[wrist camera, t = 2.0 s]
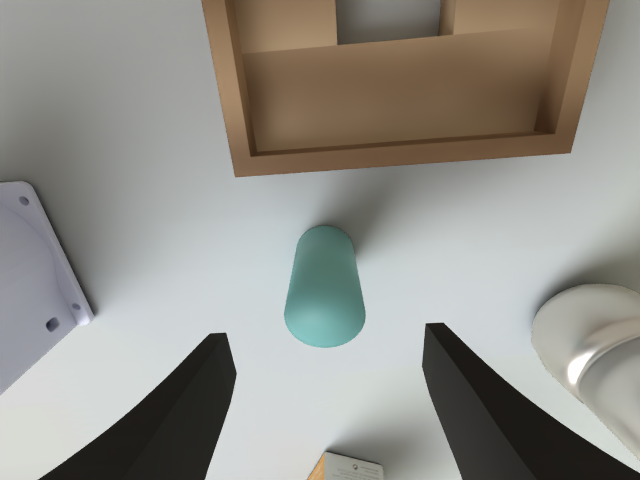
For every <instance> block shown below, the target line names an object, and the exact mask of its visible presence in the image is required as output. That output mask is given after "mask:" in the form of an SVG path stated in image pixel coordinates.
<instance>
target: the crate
mask: <svg viewBox="0 0 640 480" xmlns="http://www.w3.org/2000/svg"><path fill="white" fill-rule="evenodd" d="M201 1H202V6H203V11H204V16H205V22H206V27H207V32H208V37H209V43H210V48H211V53H212V58H213V64H214V69H215V74H216V79H217V84H218V90H219V95H220V100H221V105H222V111H223V116H224V121H225V126H226V132H227V137H228V142H229V147H230V153H231V158H232V163H233V168H234V173H235V177H246V176H260V175H273V174H287V173H301V172H315V171H329V170H343V169H357V168H370V167H384V166H398V165H412V164H426V163H440V162H454V161H467V160H481V159H495V158H509V157H523V156H537V155H551V154H565V153H571V149H572V145H573V141H574V138H575V134H576V130H577V126H578V122H579V118H580V114H581V110H582V106H583V103H584V99H585V95H586V91H587V87H588V83H589V79H590V75H591V72H592V68H593V64H594V60H595V56H596V52H597V48H598V44H599V40H600V37H601V33H602V29H603V25H604V21H605V17H606V13H607V9H608V6H609V2H610V0H441V10H440V24H439V36H434V37H423V38H412V39H400V40H389V41H378V42H367V43H356V44H345V45H337V27H336V5H335V0H201Z"/></svg>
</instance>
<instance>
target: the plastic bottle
mask: <svg viewBox="0 0 640 480" xmlns="http://www.w3.org/2000/svg"><path fill="white" fill-rule="evenodd" d="M531 340H532V344H533V347H534V349H535V351H536V353H537V355H538V356H539V358H540V360H541V362H542V364H543V365H544V367H545V369H546V370H547V371H548V372H549V373H550V374H551V375H552V376H553V377H554V378H555V379H556V380H557V381H558V382H559V383H560V384H561V385H562V386H563V387H564V388H565V389H566V390H568V391H569V392H570V393H571V394H572V395H573V396H575V397H576V398H577V399H578V400H579V401H581V402H582V403H583V404H585V405H586V406H587V407H588V408H589V409H590V410H591V411H592V412H593V413H594V414H595V415H596V416H597V417H598V418H599V420H600V421H601V422H602V423H603V424H604V425H605V426H606V427H607V428H608V429H609V430H610V431H611V432H612V433H613V434H614V435H615V436H616V437H617V438H618V439H619V440H620V441H621V442H622V443H623V444H624V445H625V446H626V447H627V449H628V450H629V451H630V452H631V453H632V454H633V455H634V456H635V457H636V458H637V459H638V460H639V461H640V294H639V293H637V292H635V291H633V290H630V289H628V288H625V287H622V286H619V285H612V284H584V285H579V286H575V287H572V288H569V289H566V290H564V291H562V292H560V293H558V294H557V295H555V296H554V297H552V298H551V299H549V300H548V301H547V302H546V303H545V304H544V305H543V306H542V307H541V308H540V310H539V311H538V312H537V314H536V316H535V318H534V321H533V324H532V338H531Z"/></svg>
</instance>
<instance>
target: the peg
mask: <svg viewBox="0 0 640 480" xmlns="http://www.w3.org/2000/svg"><path fill="white" fill-rule="evenodd" d="M365 316H366V314H365V307H364V302H363V297H362V291H361V286H360V281H359V276H358V270H357V265H356V260H355V255H354V249H353V245H352V242H351V240H350V238H349V237H348V236H347V234H345V233H344V232H343V231H342V230H340V229H338V228H336V227H332V226H317V227H314V228H312V229H310V230H308V231H307V232H305V233H304V234H303V235H302V237H301V238H300V240H299V242H298V244H297V248H296V254H295V259H294V264H293V269H292V274H291V280H290V285H289V290H288V295H287V300H286V306H285V312H284V318H285V323H286V325H287V328H288V329H289V331H290V332H291V333H292V335H293V336H295V337H296V338H297V339H298V340H300V341H301V342H303V343H305V344H308V345H311V346H314V347H321V348H329V347H336V346H340V345H343V344H345V343H347V342H349V341H350V340H352V339H353V338H355V337H356V336H357V335H358V333H359V332H360V331H361V329H362V328H363V325H364V322H365Z"/></svg>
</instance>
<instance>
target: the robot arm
mask: <svg viewBox="0 0 640 480" xmlns="http://www.w3.org/2000/svg"><path fill="white" fill-rule="evenodd" d="M25 197H26V198H27V199H28V200H29V202H28V201H27V200H26V198H25ZM79 305H80V306H79ZM93 320H94V315H93V313H92V311H91V309H90V307H89V305H88V303H87V300H86V298H85V296H84V294H83V292H82V290H81V288H80V286H79V283H78V281H77V279H76V277H75V275H74V273H73V271H72V269H71V267H70V264H69V262H68V260H67V258H66V256H65V254H64V252H63V250H62V248H61V245H60V243H59V241H58V239H57V237H56V235H55V233H54V231H53V229H52V226H51V224H50V222H49V220H48V218H47V216H46V214H45V212H44V210H43V207H42V205H41V203H40V201H39V199H38V197H37V195H36V193H35V191H34V189H33V187H32V186H31V185H30V184H29V183H27V182H24V181H16V182H3V183H0V395H1V394H2V393H3V392H4V391H5V390H6V389H8V388H9V387H10V386H11V385H12V384H13V383H14V382H15V381H16V380H17V379H19V378H20V377H21V376H22V375H23V374H24V373H25V372H26V371H27V370H28V369H30V368H31V367H32V366H33V365H34V364H35V363H36V362H37V361H38V360H39V359H41V358H42V357H43V356H44V355H45V354H46V353H47V352H48V351H49V350H50V349H52V348H53V347H54V346H55V345H56V344H57V343H58V342H59V341H60V340H61V339H63V338H64V337H65V336H66V335H67V334H68V333H69V332H70V331H71V330H72V329H74V328H75V327H76V326H77V325H88V324H90V323H91V322H92V321H93ZM422 368H423V372H424V375H425V379H426V383H427V387H428V390H429V394H430V397H431V399H432V402H433V405H434V407H435V410H436V412H437V415H438V417H439V420H440V422H441V425H442V427H443V430H444V432H445V435H446V437H447V440H448V443H449V445H450V448H451V450H452V453H453V455H454V458H455V460H456V463H457V465H458V468H459V471H460V474H461V477H462V479H463V480H640V473H638V472H637V471H635V470H633V469H632V468H630V467H628V466H627V465H625V464H623V463H622V462H620V461H618V460H617V459H615V458H613V457H612V456H610V455H609V454H607V453H605V452H604V451H602V450H601V449H599V448H598V447H596V446H595V445H593V444H591V443H590V442H588V441H587V440H585V439H584V438H582V437H581V436H579V435H578V434H576V433H575V432H573V431H572V430H570V429H569V428H567V427H566V426H564V425H563V424H561V423H560V422H559V421H557V420H556V419H554V418H553V417H552V416H550V415H549V414H548V413H546V412H545V411H544V410H542V409H541V408H539V407H538V406H537V405H535V404H534V403H533V402H531V401H530V400H529V399H528V398H526V397H525V396H524V395H522V394H521V393H520V392H519V391H517V390H516V389H515V388H514V387H513V386H511V385H510V384H509V383H508V382H507V381H505V380H504V379H503V378H502V377H501V376H500V375H498V374H497V373H496V372H495V371H494V370H493V369H492V368H491V367H489V366H488V365H487V364H486V363H485V362H484V361H483V360H482V359H481V358H480V357H478V356H477V355H476V354H475V353H474V352H473V351H472V350H471V349H470V348H469V347H468V346H467V345H466V344H465V343H464V342H463V341H462V340H461V339H460V338H459V337H458V336H457V335H456V334H455V333H454V332H453V331H452V330H450V329H449V328H448V327H447V326H446V325H445V324H444V323H426V327H425V338H424V350H423V362H422ZM236 375H237V373H236V369H235V365H234V361H233V357H232V354H231V350H230V346H229V342H228V338H227V334H226V333H211V334H209V335H208V336H207V337H206V338H205V339H204V340H203V341H202V342H201V343H200V344H199V345H198V346H197V347H196V348H195V349H194V350H193V351H192V352H191V353H190V354H189V355H188V356H187V357H186V358H185V359H184V360H183V362H182V363H181V364H180V365H179V366H178V367H177V368H176V369H175V370H174V371H173V372H172V373H171V374H170V375H169V376H168V377H167V378H166V379H164V380H163V381H162V382H161V383H160V384H159V385H158V386H157V387H156V388H155V389H154V390H153V391H152V392H150V393H149V394H148V395H147V396H146V397H145V398H144V399H143V400H142V401H141V402H140V403H139V404H137V405H136V406H135V407H134V408H133V409H132V410H131V411H129V412H128V413H127V414H126V415H125V416H124V417H122V418H121V419H120V420H119V421H117V422H116V423H115V424H114V425H112V426H111V427H110V428H109V429H108V430H106V431H105V432H104V433H102V434H101V435H100V436H99V437H97V438H96V439H95V440H93V441H92V442H90V443H89V444H88V445H86V446H85V447H84V448H82V449H81V450H80V451H78V452H77V453H75V454H74V455H73V456H71V457H70V458H69V459H67V460H66V461H65V462H63V463H62V464H60V465H59V466H57V467H56V468H55V469H53V470H52V471H50V472H49V473H47V474H46V475H44V476H43V477H41V478H40V479H38V480H205V477H206V474H207V470H208V467H209V464H210V462H211V459H212V456H213V453H214V450H215V447H216V444H217V441H218V438H219V435H220V432H221V429H222V427H223V424H224V421H225V418H226V415H227V412H228V409H229V406H230V402H231V398H232V394H233V389H234V385H235V380H236Z"/></svg>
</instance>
